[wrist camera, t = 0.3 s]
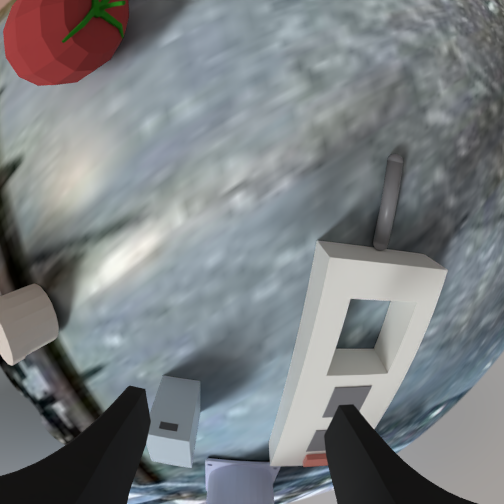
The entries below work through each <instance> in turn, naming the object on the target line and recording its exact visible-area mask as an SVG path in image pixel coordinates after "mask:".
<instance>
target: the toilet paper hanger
mask: <svg viewBox="0 0 504 504" xmlns="http://www.w3.org/2000/svg"><path fill="white" fill-rule="evenodd" d="M58 331H59V326H58V321H57V316H56V313H55V311H54V308H53V305H52V303H51V301H50V299H49V298H48V296H47V294H46V293H45V291H44V290H43V289H42V288H41V287H40V286H39V285H37V284H35V283H34V284H31V285H29V286H26V287H23V288H21V289H18V290H16V291H13V292H10V293H8V294H5V295H3V296H1V295H0V354H1V356H2V357H3V359H4V360H5V361H6V362H7V363H8V364H9V365H14V364H16V363H17V362H19V361H21V360H23V359H24V358H25V357H26V355H28V354H30V353H31V352H33V351H35V350H37V349H39V348H40V347H42V346H44V345H46V344H48V343H49V342H51V341H53V340H55V339H56V338H57V336H58Z"/></svg>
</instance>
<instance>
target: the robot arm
mask: <svg viewBox="0 0 504 504" xmlns="http://www.w3.org/2000/svg"><path fill="white" fill-rule="evenodd" d="M150 424H151V419H150V414H149V409H148V403H147V397H146V391H145V389H142V388H138V387H133V386H129V387H127V388H126V389H125V391H124V392H123V393H122V394H121V395H120V396H119V397H118V398H117V399H116V400H115V401H114V403H113V404H112V405H111V406H110V407H109V408H108V409H107V410H106V411H105V412H104V413H103V414H102V415H101V416H100V417H99V418H98V419H96V420H95V421H94V422H93V423H92V424H91V425H90V426H89V427H88V428H86V429H85V430H84V431H83V432H82V433H81V434H79V435H78V436H77V437H76V438H74V439H73V440H72V441H71V442H69V443H68V444H66V445H65V446H64V447H62V448H61V449H59V450H58V451H56V452H54V453H53V454H51V455H49V456H48V457H46V458H45V459H42V460H40V461H39V462H37V463H35V464H32V465H30V466H27V467H25V468H23V469H20V470H18V471H15V472H12V473H9V474H6V475H2V476H0V504H127V500H128V495H129V492H130V488H131V485H132V482H133V479H134V476H135V474H136V471H137V468H138V465H139V462H140V460H141V457H142V454H143V451H144V448H145V445H146V442H147V438H148V433H149V428H150ZM324 440H325V450H326V458H327V462H328V466H329V470H330V474H331V478H332V482H333V486H334V491H335V495H336V499H337V503H338V504H477V503H474V502H471V501H468V500H466V499H463V498H460V497H458V496H456V495H453V494H451V493H449V492H447V491H446V490H444V489H442V488H440V487H438V486H437V485H435V484H434V483H432V482H430V481H429V480H427V479H426V478H424V477H423V476H421V475H420V474H419V473H418V472H416V471H415V470H414V469H413V468H411V467H410V466H409V465H408V464H407V463H405V462H404V461H403V460H402V459H401V458H400V457H399V456H398V455H397V454H396V453H395V452H394V451H393V450H392V449H391V448H390V447H389V446H388V445H387V444H386V442H385V441H384V440H383V439H382V438H381V437H380V436H379V435H378V433H377V432H376V431H375V430H374V429H373V428H372V426H371V425H370V424H369V423H368V422H367V420H366V419H365V418H364V417H363V415H362V414H361V413H360V412H359V411H358V409H357V408H356V407H355V406H354V404H349V405H339V406H338V408H337V410H336V412H335V414H334V416H333V419H332V421H331V423H330V425H329V427H328V429H327V431H326V433H325V434H324ZM280 467H281V466H270V462H253V461H235V460H223V459H213V458H207V459H206V461H205V471H206V490H207V501H206V504H274V495H273V483H274V481H275V478H276V476H277V474H278V472H279V470H280Z"/></svg>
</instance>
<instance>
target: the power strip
mask: <svg viewBox="0 0 504 504" xmlns="http://www.w3.org/2000/svg"><path fill="white" fill-rule="evenodd" d="M402 170H403V159H402V157H401V156H400V155H398V154H391V155H390V156H389V157H388V160H387V167H386V174H385V181H384V187H383V193H382V199H381V205H380V210H379V215H378V220H377V225H376V230H375V235H374V240H373V245H374V247H367V246H359V245H351V244H343V243H335V242H327V241H318V240H317V242H316V248H315V253H314V259H313V264H312V269H311V274H310V279H309V284H308V289H307V294H306V298H305V303H304V308H303V312H302V317H301V321H300V326H299V330H298V334H297V339H296V343H295V347H294V351H293V355H292V359H291V363H290V367H289V371H288V375H287V379H286V383H285V386H284V390H283V394H282V397H281V401H280V405H279V408H278V412H277V415H276V419H275V422H274V426H273V429H272V432H271V436H270V439H269V456H270V466H303V467H312V466H325V465H328V462H327V458H326V450H325V440H324V434H325V433H326V431H327V429H328V427H329V425H330V423H331V421H332V419H333V416H334V414H335V412H336V410H337V408H338V406H339V405H349V404H354V406H355V407H356V408H357V409H358V411H359V412H360V413H361V414H362V415H363V417H364V418H365V419H366V420H367V422H368V423H369V424H370V425H371V426H372V428H373V429H375V427H376V426H377V424H378V423H379V421H380V420H381V418H382V416H383V415H384V413H385V411H386V410H387V408H388V406H389V404H390V403H391V401H392V399H393V397H394V396H395V394H396V392H397V390H398V388H399V387H400V385H401V383H402V381H403V379H404V377H405V375H406V373H407V371H408V369H409V367H410V365H411V363H412V361H413V359H414V357H415V355H416V352H417V350H418V348H419V346H420V344H421V341H422V339H423V337H424V334H425V332H426V330H427V327H428V325H429V322H430V320H431V317H432V315H433V312H434V309H435V307H436V304H437V301H438V298H439V296H440V293H441V290H442V287H443V284H444V281H445V278H446V274H447V271H448V270H447V269H445V268H444V267H443V266H441V265H440V264H438V263H437V262H435V261H434V260H432V259H431V258H429V257H428V256H426V255H425V254H420V253H413V252H405V251H398V250H390V249H386V248H387V247H388V244H389V240H390V235H391V231H392V226H393V221H394V216H395V211H396V206H397V201H398V195H399V189H400V183H401V176H402ZM350 299H365V300H383V301H391V302H390V305H389V308H388V311H387V314H386V317H385V320H384V322H383V325H382V328H381V331H380V334H379V336H378V339H377V342H376V344H375V347H374V349H336V346H337V343H338V339H339V336H340V333H341V330H342V327H343V323H344V320H345V316H346V313H347V310H348V306H349V302H350Z"/></svg>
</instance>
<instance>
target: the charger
mask: <svg viewBox="0 0 504 504" xmlns="http://www.w3.org/2000/svg"><path fill="white" fill-rule="evenodd" d="M199 418H200V381H197V380H190V379H183V378H177V377H171V376H165V375H163V377H162V379H161V382H160V385H159V388H158V391H157V394H156V397H155V400H154V403H153V406H152V409H151V412H150V419H151V424H150V428H149V433H148V438H147V442H146V444H147V447H148V450H149V454H150V457H151V460H152V461H155V462H160V463H165V464H170V465H176V466H182V467H188V468H192V462H193V455H194V449H195V443H196V436H197V430H198V424H199Z"/></svg>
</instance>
